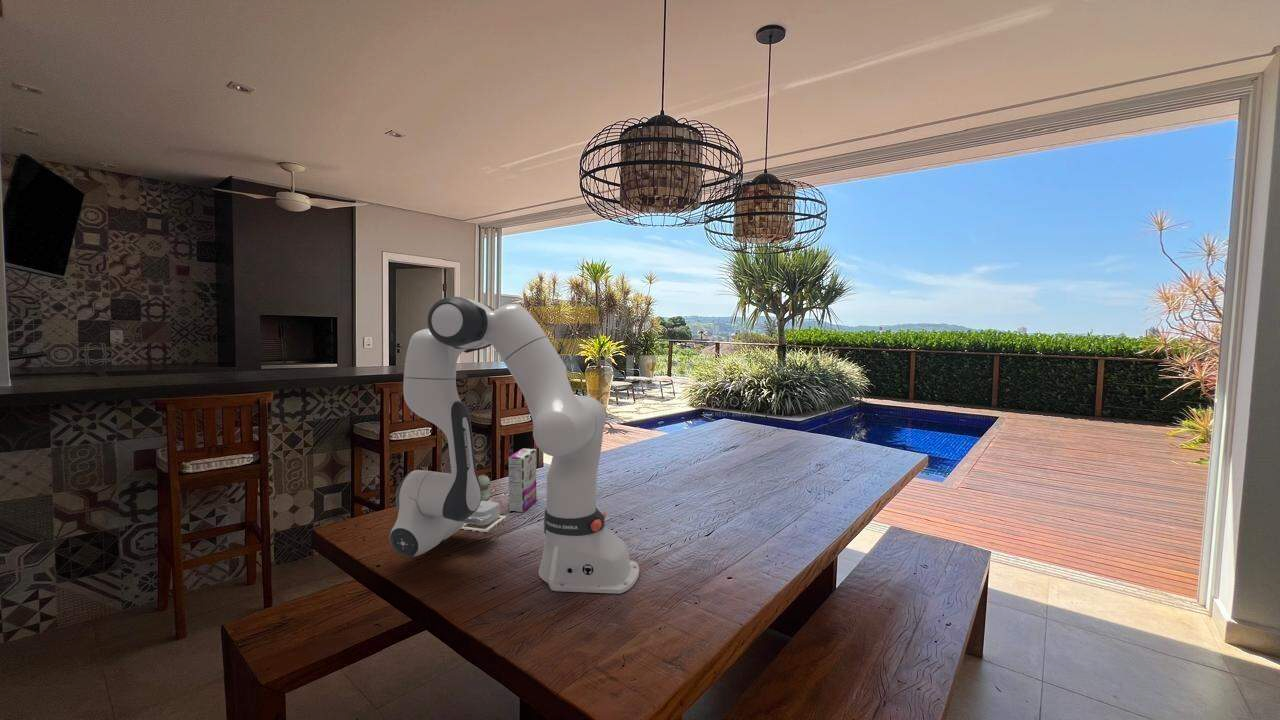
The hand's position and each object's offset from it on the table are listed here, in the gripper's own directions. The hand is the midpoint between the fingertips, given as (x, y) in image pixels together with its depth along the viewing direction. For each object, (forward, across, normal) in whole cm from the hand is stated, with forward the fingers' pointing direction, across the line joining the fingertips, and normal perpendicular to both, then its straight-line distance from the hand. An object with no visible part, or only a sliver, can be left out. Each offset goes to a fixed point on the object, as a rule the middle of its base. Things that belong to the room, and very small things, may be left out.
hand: (475, 499), depth 145 cm
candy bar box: (+20, -4, +8) cm, 22 cm away
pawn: (+4, 0, +8) cm, 9 cm away
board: (+2, +8, +8) cm, 11 cm away
